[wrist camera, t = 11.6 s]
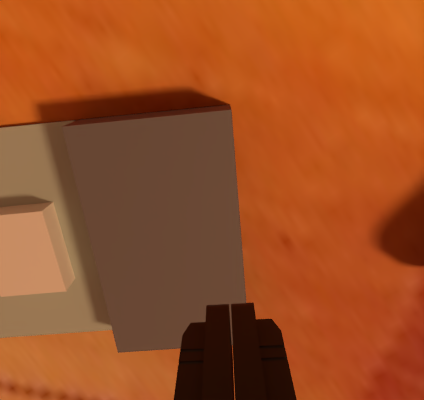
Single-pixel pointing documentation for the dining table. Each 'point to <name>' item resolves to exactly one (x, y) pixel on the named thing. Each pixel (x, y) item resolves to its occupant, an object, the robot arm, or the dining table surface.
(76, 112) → the dining table surface
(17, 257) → the tile
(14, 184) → the mat
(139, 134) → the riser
